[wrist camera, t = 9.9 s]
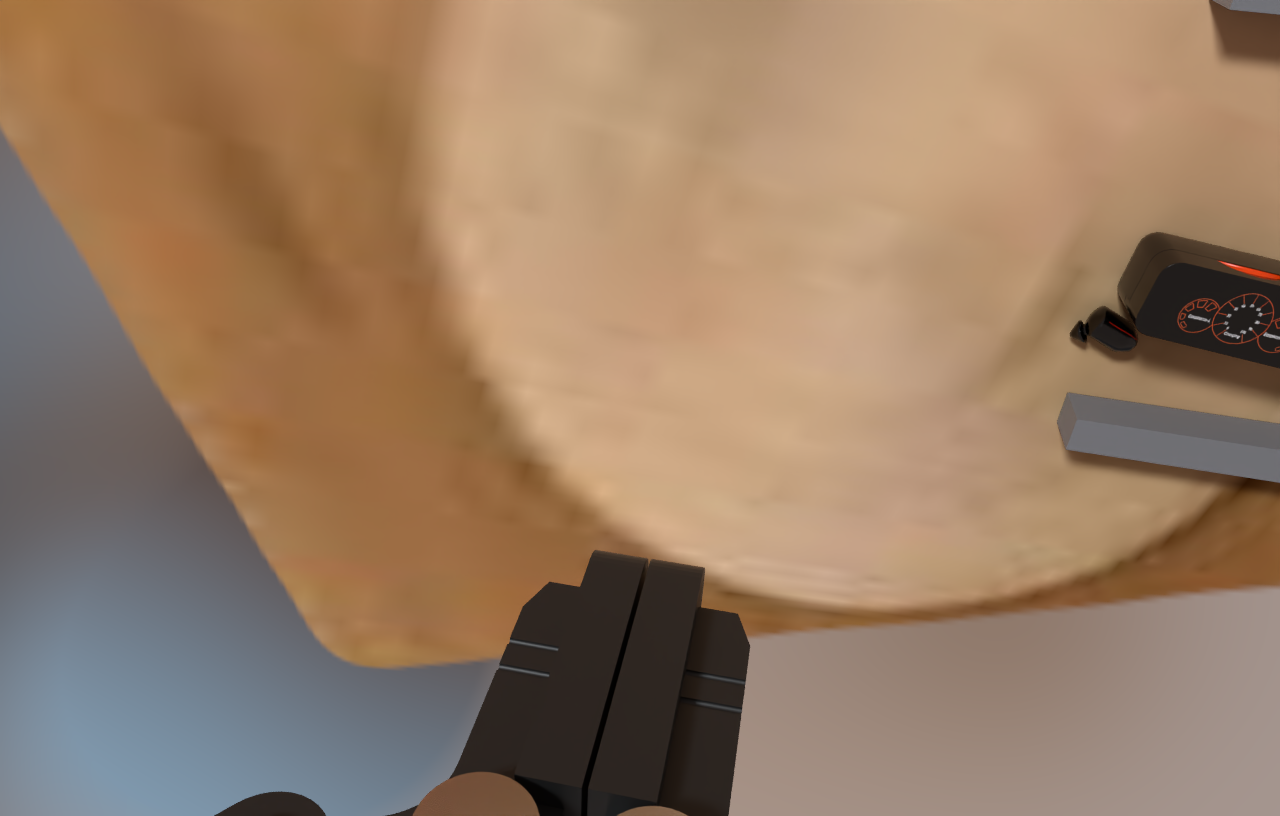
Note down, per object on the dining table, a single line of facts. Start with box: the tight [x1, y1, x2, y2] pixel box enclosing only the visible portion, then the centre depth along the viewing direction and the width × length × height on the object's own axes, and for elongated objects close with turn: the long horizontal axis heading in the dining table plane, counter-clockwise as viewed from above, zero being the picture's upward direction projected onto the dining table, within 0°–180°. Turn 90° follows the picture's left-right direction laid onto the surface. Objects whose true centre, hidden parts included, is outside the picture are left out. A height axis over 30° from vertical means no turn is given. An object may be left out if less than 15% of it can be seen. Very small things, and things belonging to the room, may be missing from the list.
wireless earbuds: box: [1070, 232, 1280, 368], centre depth 34 cm, size 5×7×3 cm, turn 79°
